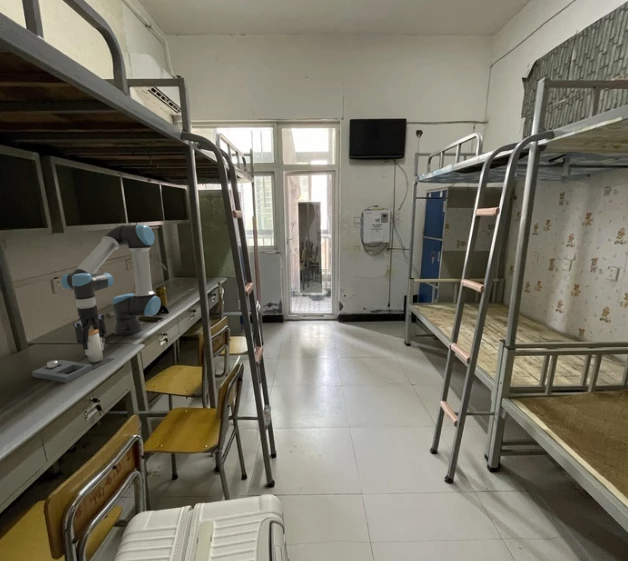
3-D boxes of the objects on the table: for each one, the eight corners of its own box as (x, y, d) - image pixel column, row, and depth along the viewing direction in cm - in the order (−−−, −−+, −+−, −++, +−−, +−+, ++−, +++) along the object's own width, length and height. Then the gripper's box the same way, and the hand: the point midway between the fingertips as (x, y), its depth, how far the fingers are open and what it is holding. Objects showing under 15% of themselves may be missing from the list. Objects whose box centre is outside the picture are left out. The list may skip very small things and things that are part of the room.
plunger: (55, 366, 146) (53, 359, 145) (61, 367, 145) (59, 360, 144) (45, 370, 142) (44, 363, 141) (52, 371, 141) (50, 364, 140)
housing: (61, 364, 150) (60, 359, 150) (92, 369, 145) (91, 364, 144) (33, 376, 139) (32, 371, 139) (66, 382, 133) (65, 377, 133)
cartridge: (97, 356, 155) (92, 328, 152) (106, 357, 153) (101, 329, 150) (86, 361, 150) (81, 332, 147) (95, 363, 148) (89, 333, 145)
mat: (98, 357, 158) (98, 356, 158) (113, 359, 155) (113, 358, 155) (78, 366, 148) (78, 365, 148) (94, 368, 146) (94, 367, 146)
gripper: (99, 300, 156) (106, 344, 160) (60, 311, 138) (69, 360, 143) (110, 301, 154) (117, 345, 158) (72, 312, 136) (82, 361, 141)
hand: (95, 352), depth 151 cm, fingers closed on cartridge, 6 cm apart
